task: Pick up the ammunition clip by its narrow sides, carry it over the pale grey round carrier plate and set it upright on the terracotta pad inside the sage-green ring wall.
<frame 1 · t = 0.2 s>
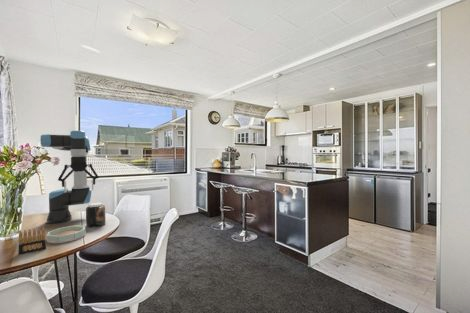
hand: (79, 191, 137), 28 cm above the table, tool pointing down, fingers open, 13 cm apart
ammunition clip: (32, 251, 117), on the table
jar: (96, 225, 160), on the table
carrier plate: (67, 237, 137), on the table
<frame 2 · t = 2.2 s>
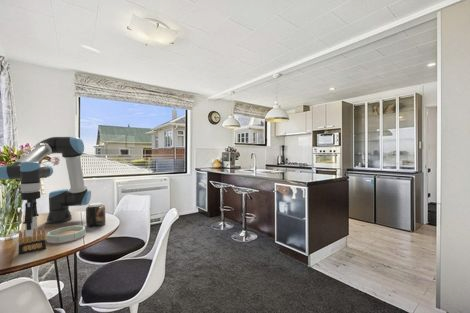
hand: (31, 232, 117), 10 cm above the table, tool pointing down, fingers open, 13 cm apart
nothing on the table moved.
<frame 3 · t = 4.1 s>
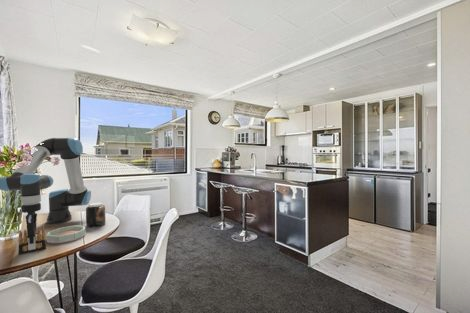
hand: (32, 248, 117), 2 cm above the table, tool pointing down, fingers closed on ammunition clip, 2 cm apart
ammunition clip: (32, 251, 117), on the table, touching gripper
everything else where it was.
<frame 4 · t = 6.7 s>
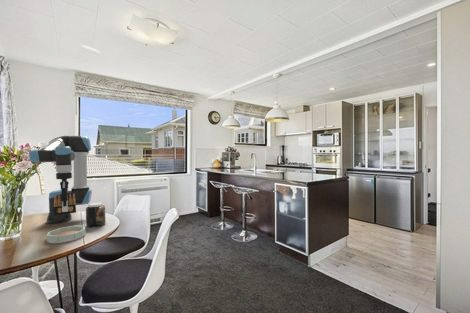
hand: (65, 211, 136), 16 cm above the table, tool pointing down, fingers closed on ammunition clip, 2 cm apart
ammunition clip: (65, 213, 136), point 14 cm above the table, touching gripper
everything else where it was.
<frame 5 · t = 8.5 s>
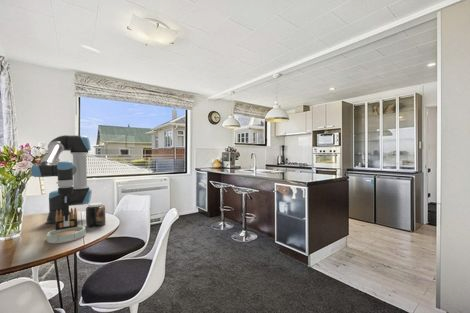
hand: (66, 225, 137), 7 cm above the table, tool pointing down, fingers closed on ammunition clip, 2 cm apart
ammunition clip: (66, 228, 137), point 5 cm above the table, touching gripper
everything else where it was.
when the fingers open (4 cm above the table, at t = 9.6 s): ammunition clip stays where it is, resting on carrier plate.
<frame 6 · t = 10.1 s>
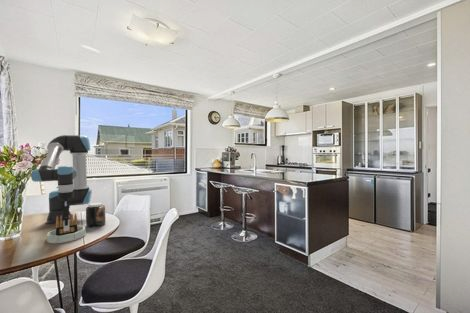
hand: (66, 228, 137), 5 cm above the table, tool pointing down, fingers open, 9 cm apart
ammunition clip: (67, 234, 137), point 2 cm above the table, touching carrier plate
everything else where it was.
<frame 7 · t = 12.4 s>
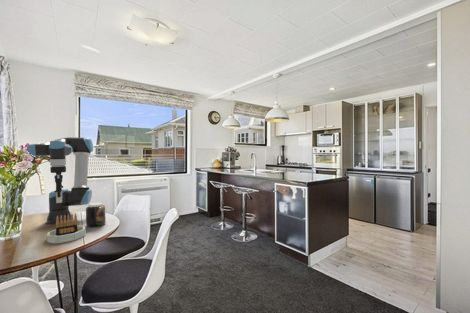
hand: (59, 200, 139), 22 cm above the table, tool pointing down, fingers open, 13 cm apart
nothing on the table moved.
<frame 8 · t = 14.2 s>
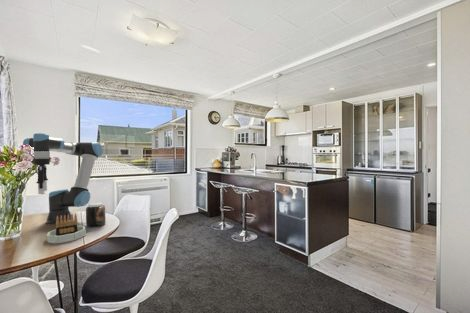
hand: (42, 192, 141), 27 cm above the table, tool pointing down, fingers open, 13 cm apart
nothing on the table moved.
at the end: ammunition clip inside the target area on the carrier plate (0.1 cm from its centre), point 1.6 cm above the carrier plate's base; ammunition clip tilted 0°; the gripper is holding nothing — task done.
